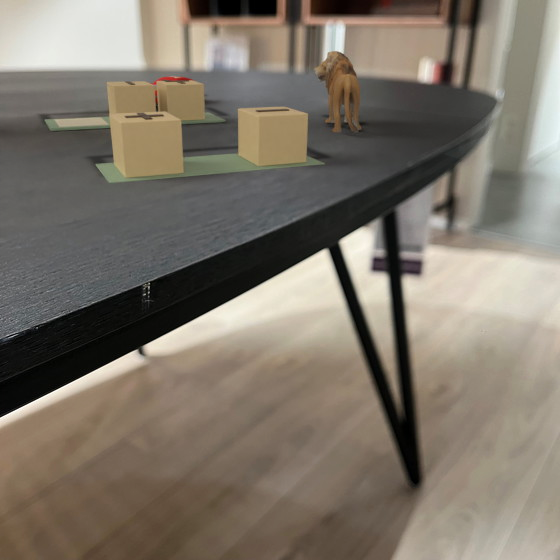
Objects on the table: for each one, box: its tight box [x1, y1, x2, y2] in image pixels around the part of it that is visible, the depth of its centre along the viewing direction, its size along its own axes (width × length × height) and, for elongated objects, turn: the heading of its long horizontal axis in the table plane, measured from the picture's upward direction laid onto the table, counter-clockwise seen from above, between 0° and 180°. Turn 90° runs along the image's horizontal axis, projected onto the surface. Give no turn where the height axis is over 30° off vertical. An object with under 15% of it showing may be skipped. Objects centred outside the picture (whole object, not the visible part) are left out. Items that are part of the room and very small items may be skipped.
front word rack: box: [95, 106, 326, 184], centre depth 52 cm, size 20×7×5 cm, turn 115°
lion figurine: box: [313, 50, 363, 134], centre depth 73 cm, size 15×5×9 cm, turn 10°
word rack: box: [44, 79, 226, 132], centre depth 74 cm, size 22×7×5 cm, turn 115°
